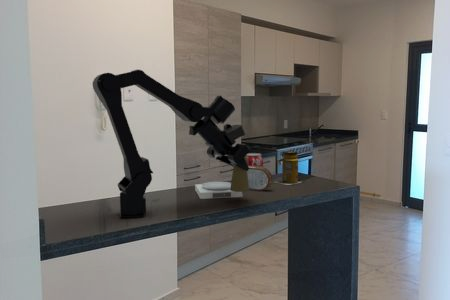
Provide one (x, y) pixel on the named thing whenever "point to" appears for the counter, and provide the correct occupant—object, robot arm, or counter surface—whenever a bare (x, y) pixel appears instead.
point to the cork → (239, 179)
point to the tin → (259, 178)
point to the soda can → (255, 159)
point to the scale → (216, 190)
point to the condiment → (289, 168)
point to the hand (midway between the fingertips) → (243, 168)
